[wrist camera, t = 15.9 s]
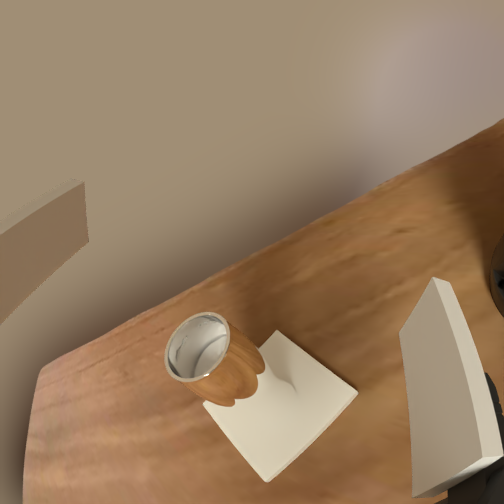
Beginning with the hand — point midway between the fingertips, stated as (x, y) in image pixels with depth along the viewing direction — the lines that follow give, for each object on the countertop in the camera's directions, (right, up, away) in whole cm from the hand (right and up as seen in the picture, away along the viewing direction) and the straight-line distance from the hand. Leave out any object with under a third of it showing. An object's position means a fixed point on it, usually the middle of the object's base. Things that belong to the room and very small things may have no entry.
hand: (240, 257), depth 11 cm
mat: (+3, -18, +24) cm, 30 cm away
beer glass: (+3, -17, +23) cm, 29 cm away
